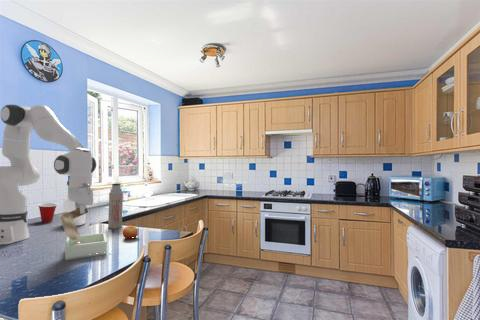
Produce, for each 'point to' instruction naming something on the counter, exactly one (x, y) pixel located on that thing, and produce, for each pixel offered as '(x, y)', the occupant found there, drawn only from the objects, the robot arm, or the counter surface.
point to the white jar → (70, 206)
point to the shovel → (71, 223)
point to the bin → (86, 246)
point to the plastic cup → (47, 211)
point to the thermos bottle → (115, 207)
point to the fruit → (130, 232)
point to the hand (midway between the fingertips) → (80, 212)
